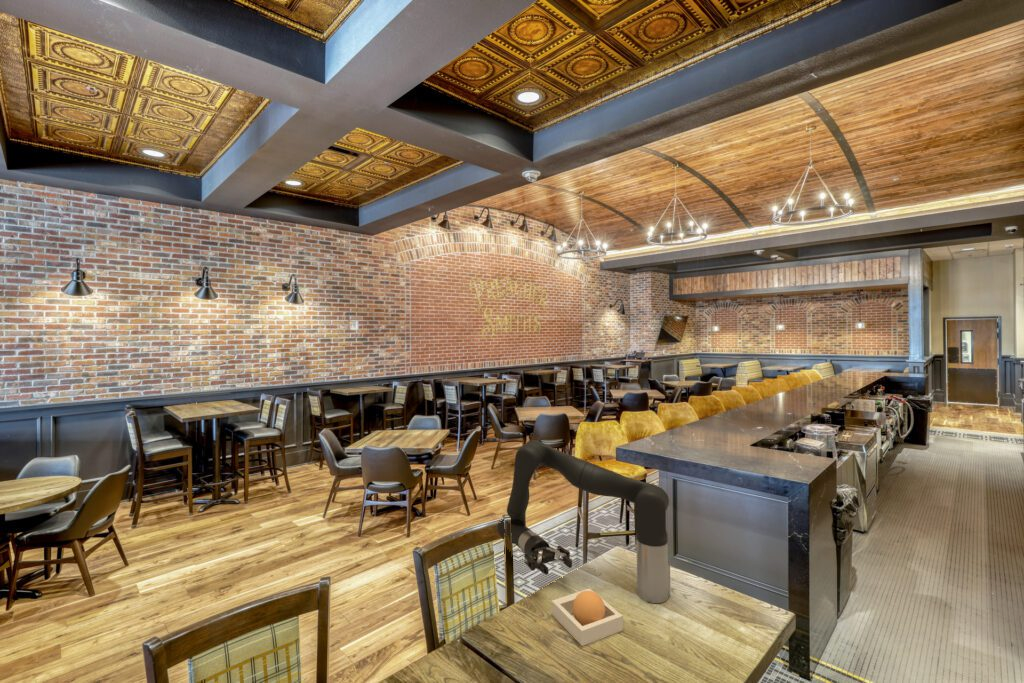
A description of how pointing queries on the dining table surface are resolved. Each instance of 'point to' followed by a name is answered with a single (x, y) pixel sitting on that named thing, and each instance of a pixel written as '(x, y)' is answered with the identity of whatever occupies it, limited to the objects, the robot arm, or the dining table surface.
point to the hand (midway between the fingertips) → (559, 568)
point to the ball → (588, 608)
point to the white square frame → (591, 631)
